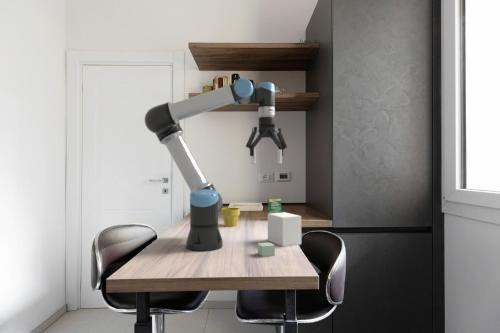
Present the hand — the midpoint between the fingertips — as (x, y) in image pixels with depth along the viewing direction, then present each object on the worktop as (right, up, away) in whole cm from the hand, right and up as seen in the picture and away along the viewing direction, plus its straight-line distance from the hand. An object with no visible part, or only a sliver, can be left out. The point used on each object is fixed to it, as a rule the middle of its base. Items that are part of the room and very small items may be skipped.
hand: (266, 163), depth 149 cm
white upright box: (+7, -35, -6) cm, 36 cm away
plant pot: (-19, -35, +34) cm, 52 cm away
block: (-2, -35, -26) cm, 43 cm away
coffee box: (+8, -35, +54) cm, 64 cm away
